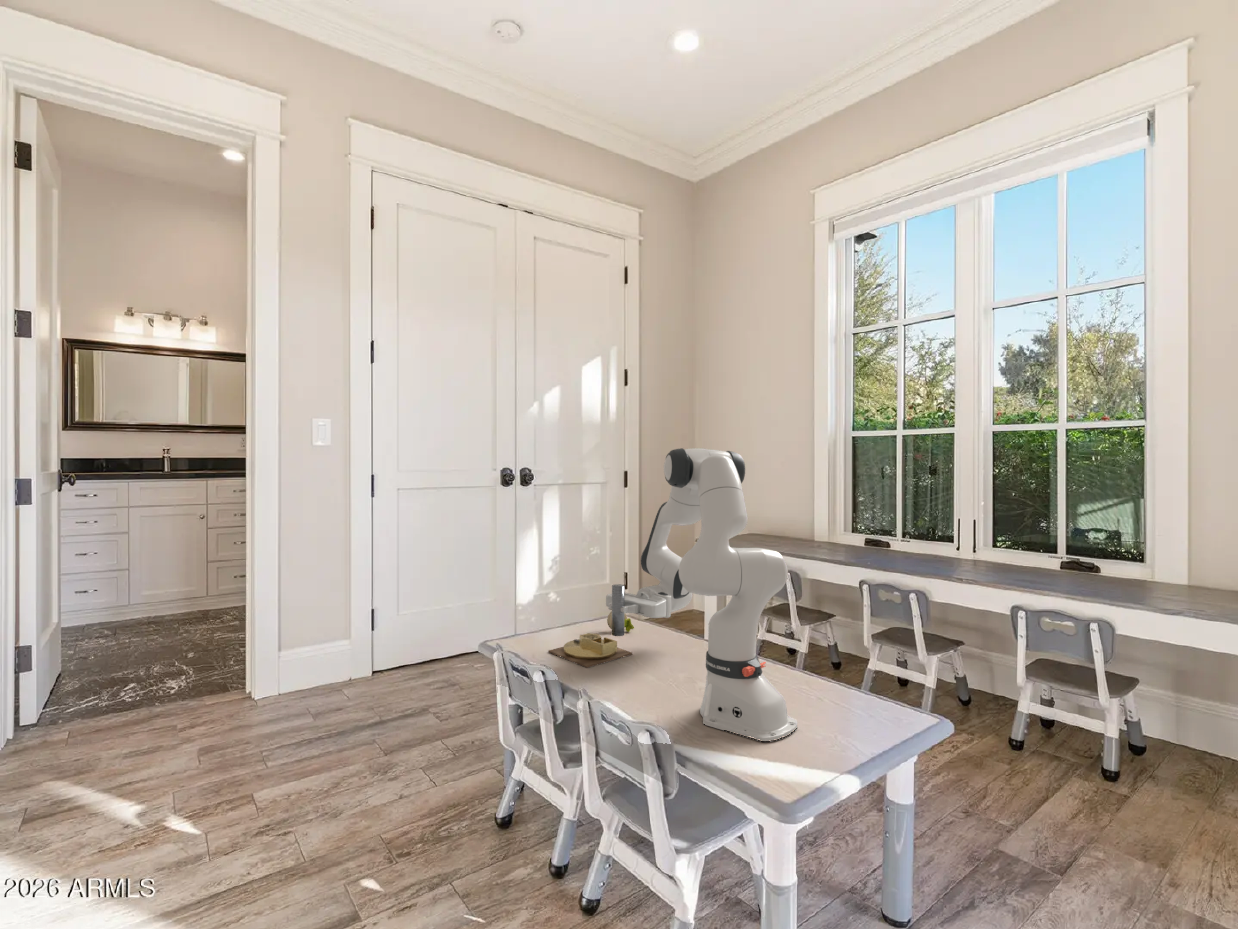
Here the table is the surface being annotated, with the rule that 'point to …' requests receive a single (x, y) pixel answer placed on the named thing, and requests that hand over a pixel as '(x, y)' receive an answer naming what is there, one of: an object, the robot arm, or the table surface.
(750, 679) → the robot arm
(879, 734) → the table surface
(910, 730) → the table surface
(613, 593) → the pin
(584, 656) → the gold round base
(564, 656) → the base plate
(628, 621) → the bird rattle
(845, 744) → the table surface
